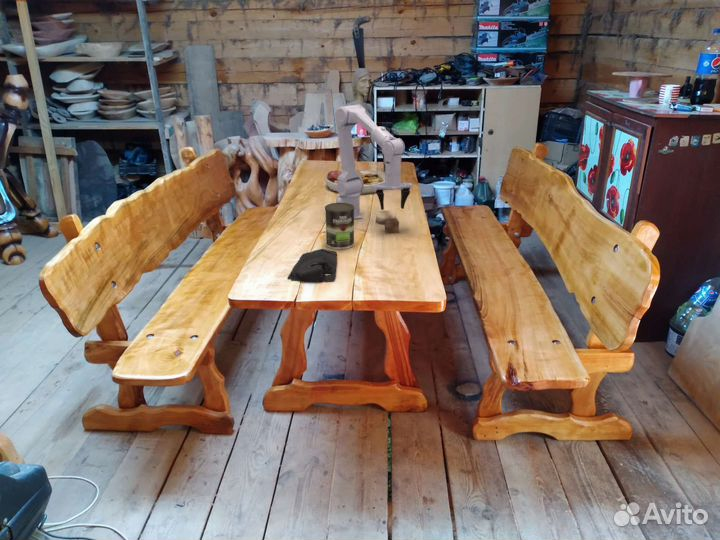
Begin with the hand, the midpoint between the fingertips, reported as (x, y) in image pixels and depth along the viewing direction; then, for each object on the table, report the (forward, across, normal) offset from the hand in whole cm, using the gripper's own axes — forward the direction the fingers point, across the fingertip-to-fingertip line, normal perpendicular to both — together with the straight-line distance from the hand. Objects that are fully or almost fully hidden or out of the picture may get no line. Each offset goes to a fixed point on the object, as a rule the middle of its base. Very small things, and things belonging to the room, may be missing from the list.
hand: (392, 208), depth 207 cm
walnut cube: (+9, 0, 0) cm, 9 cm away
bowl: (+10, -4, +63) cm, 64 cm away
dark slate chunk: (+10, -31, -30) cm, 44 cm away
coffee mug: (+9, +18, +88) cm, 90 cm away
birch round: (+9, 0, +11) cm, 14 cm away
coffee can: (+9, -21, -10) cm, 25 cm away
